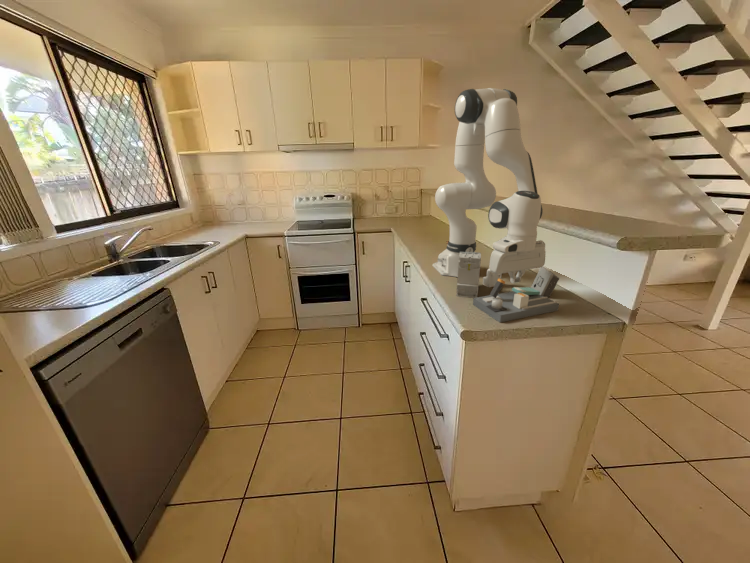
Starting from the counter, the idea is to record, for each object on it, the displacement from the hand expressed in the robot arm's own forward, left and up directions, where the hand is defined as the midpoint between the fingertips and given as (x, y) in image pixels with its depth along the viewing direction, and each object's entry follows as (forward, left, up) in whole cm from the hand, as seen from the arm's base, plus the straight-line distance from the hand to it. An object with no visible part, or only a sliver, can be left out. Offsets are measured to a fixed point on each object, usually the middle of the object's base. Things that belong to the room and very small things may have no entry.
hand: (515, 282), depth 106 cm
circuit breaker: (-16, -8, -8) cm, 19 cm away
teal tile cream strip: (0, +5, -4) cm, 6 cm away
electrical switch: (-3, +16, -8) cm, 18 cm away
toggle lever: (0, -9, -4) cm, 9 cm away
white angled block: (-17, +4, -8) cm, 19 cm away
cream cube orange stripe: (+7, -4, -5) cm, 10 cm away
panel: (+3, -2, -8) cm, 9 cm away
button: (+6, -12, -5) cm, 14 cm away
